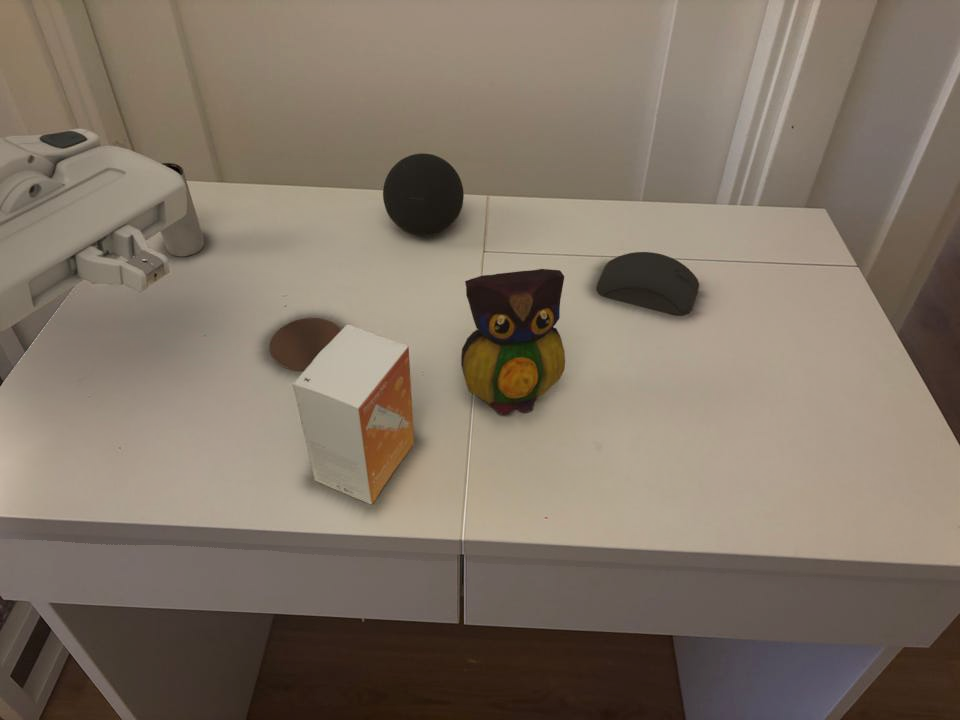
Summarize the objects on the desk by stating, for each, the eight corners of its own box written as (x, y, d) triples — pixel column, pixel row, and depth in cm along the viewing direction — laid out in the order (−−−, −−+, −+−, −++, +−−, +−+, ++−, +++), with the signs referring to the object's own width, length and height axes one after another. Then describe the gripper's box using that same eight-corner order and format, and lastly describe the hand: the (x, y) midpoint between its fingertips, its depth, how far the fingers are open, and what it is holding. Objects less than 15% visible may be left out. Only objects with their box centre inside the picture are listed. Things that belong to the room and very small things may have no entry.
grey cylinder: (176, 233, 95) (152, 160, 87) (210, 237, 94) (189, 164, 87) (160, 255, 91) (134, 181, 84) (195, 258, 91) (172, 184, 84)
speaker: (407, 260, 91) (402, 189, 84) (373, 219, 97) (366, 150, 90) (477, 237, 95) (479, 167, 88) (440, 199, 101) (439, 131, 94)
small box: (372, 507, 66) (358, 409, 57) (312, 481, 68) (289, 383, 59) (417, 443, 71) (410, 344, 62) (360, 420, 73) (345, 321, 64)
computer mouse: (689, 319, 85) (697, 292, 82) (593, 294, 87) (597, 267, 85) (699, 286, 89) (707, 259, 86) (607, 263, 92) (612, 237, 89)
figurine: (468, 429, 73) (469, 313, 62) (456, 378, 77) (455, 262, 67) (565, 415, 74) (582, 300, 63) (547, 366, 79) (560, 251, 68)
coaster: (301, 382, 77) (301, 380, 76) (254, 345, 80) (254, 343, 80) (360, 343, 81) (360, 341, 81) (313, 310, 85) (312, 308, 84)
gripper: (-143, 226, 48) (34, 317, 46) (99, 120, 62) (239, 185, 61) (-113, 301, 52) (50, 387, 50) (106, 185, 67) (238, 247, 65)
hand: (155, 275), depth 55 cm, fingers closed
